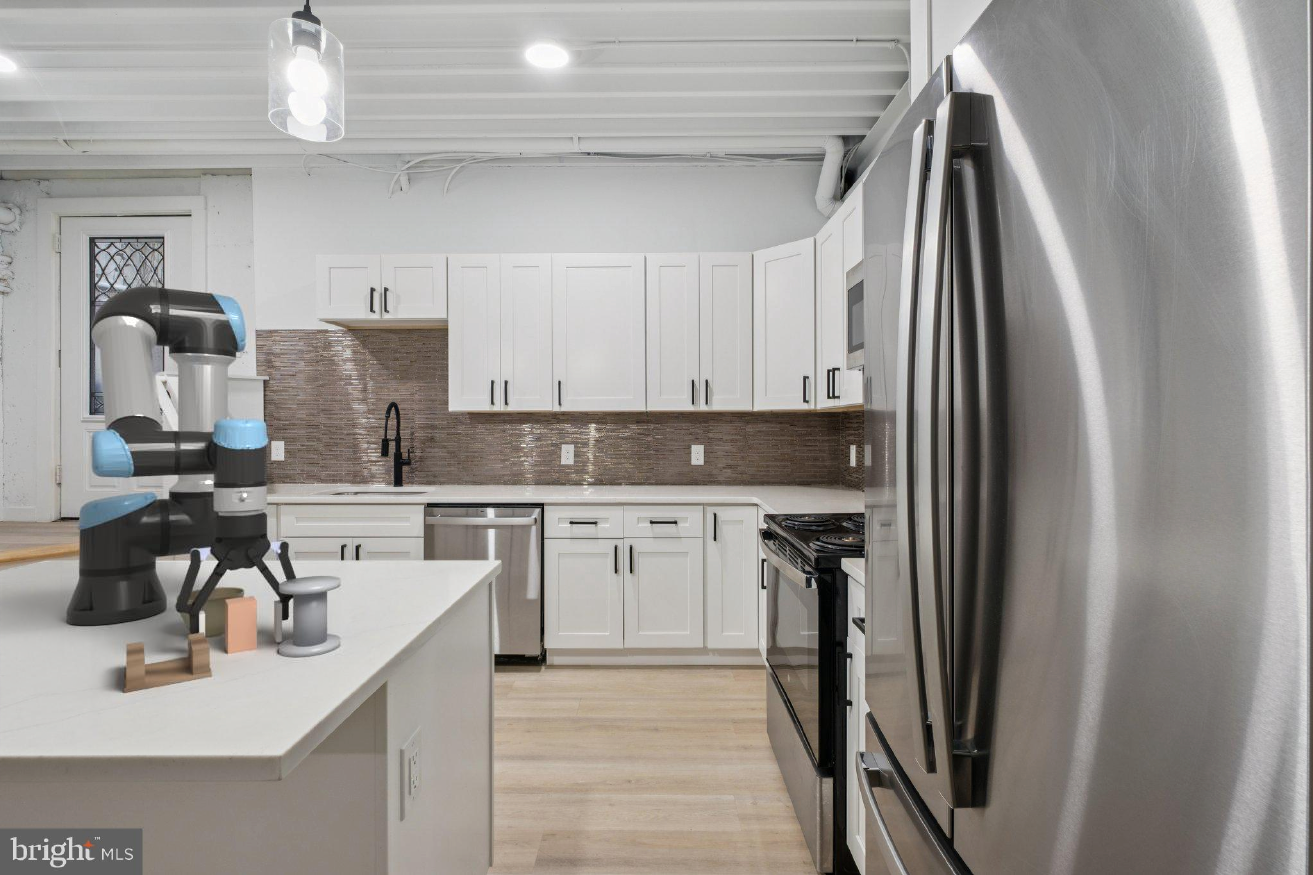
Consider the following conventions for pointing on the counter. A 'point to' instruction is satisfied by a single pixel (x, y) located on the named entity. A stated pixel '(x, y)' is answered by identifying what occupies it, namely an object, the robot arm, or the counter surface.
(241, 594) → the flower pot
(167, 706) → the counter surface
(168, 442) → the robot arm
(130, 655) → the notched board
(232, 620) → the peach rectangular block
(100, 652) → the counter surface
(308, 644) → the bobbin
